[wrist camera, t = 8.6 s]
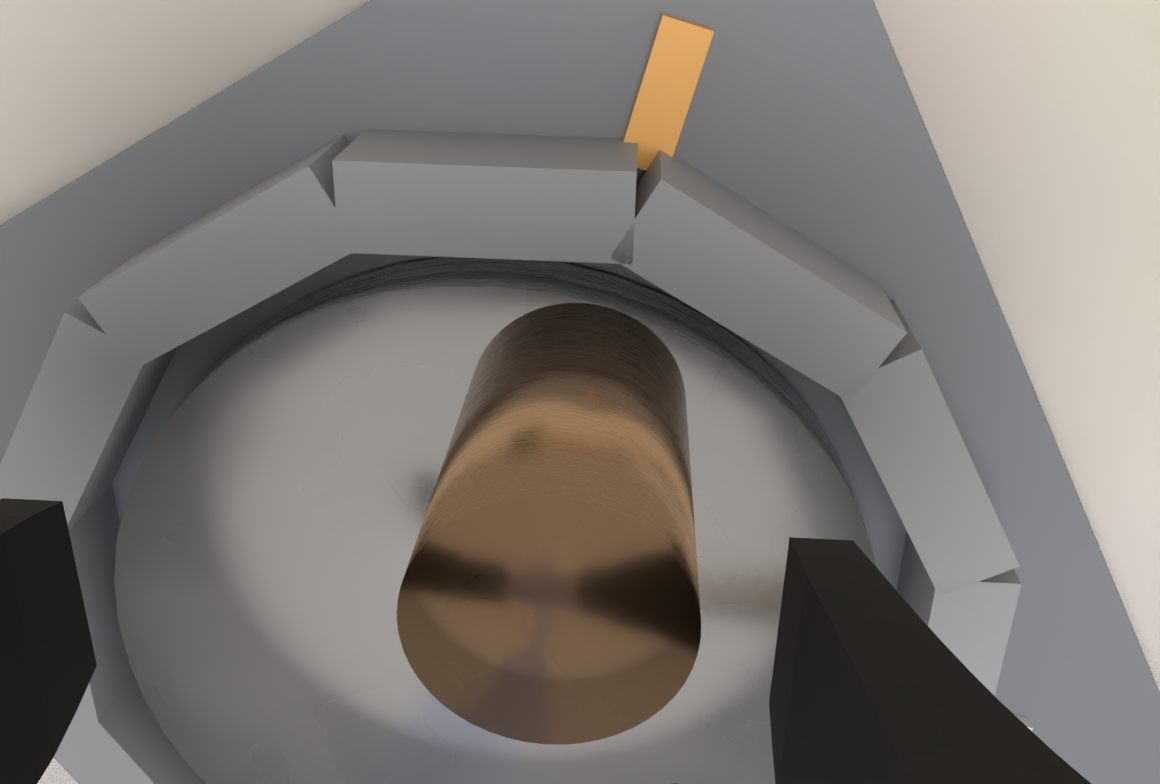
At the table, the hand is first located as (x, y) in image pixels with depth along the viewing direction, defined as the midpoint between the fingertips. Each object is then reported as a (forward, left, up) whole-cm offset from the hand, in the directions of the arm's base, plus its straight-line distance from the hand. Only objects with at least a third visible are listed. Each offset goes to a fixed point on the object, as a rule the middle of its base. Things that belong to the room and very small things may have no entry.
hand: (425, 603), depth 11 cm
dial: (-2, -4, -6) cm, 8 cm away
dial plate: (-2, -4, -8) cm, 9 cm away
